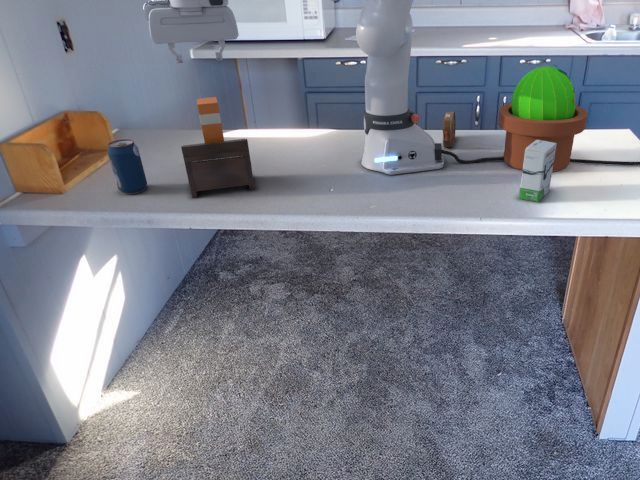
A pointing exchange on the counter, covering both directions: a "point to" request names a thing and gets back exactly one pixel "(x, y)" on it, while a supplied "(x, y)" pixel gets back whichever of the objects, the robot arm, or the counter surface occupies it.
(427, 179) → the counter surface
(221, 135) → the packet
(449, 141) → the tin
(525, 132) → the potted cactus
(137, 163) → the soda can
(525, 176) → the ink box
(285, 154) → the counter surface
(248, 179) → the brown wooden cabinet
